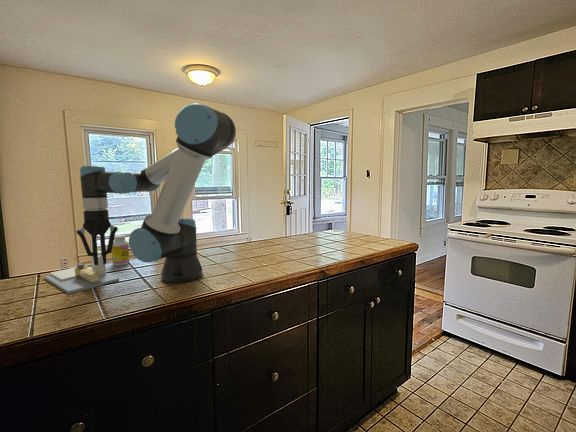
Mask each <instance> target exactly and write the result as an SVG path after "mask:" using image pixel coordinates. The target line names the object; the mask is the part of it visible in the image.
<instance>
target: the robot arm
mask: <svg viewBox="0 0 576 432" xmlns="http://www.w3.org/2000/svg"><path fill="white" fill-rule="evenodd" d="M174 128H175V133H176V135H177V138H176V139H175V143H176V145H177V148H175V149H174V150H173V151H170V152H169V153H168V154H166V155H165V156H163V157H161V158H160V159H158V160H156V161H155V162H153V163H152V164H150V165H149V166H147V167H145V168H144V169H142V170H140V171H125V170H117V171H114V170H113V171H106V168H105V166H102V165H83V166H81V167H80V169H79V171H80V172H79V173H80V176H79V179H80V186H81V188H80V189H81V197H82V208H83V209H84V210H83V221H84V222H83V224H82V227H81V228H78V229H76V231H75V233H76V234H77V235H78V236H79V237H80V240H81V242H82V244H83V245H82V246H83V247H84V250H85V252H86V255H88V257H91V256H93V259H94V264H95V265H98V273H99V274H104V267H103V264H105V265H106V264H107V255H109V254H112V247H113V242H114V237H115V236H116V233H117V232H118V230H119V228H118V227H117V226H114V225H112V223H111V222H110V219H109V218H110V217H109V210H108V207H109V203H108V194H121V195H122V194H130V193H141V192H142V193H143V192H144V193H148V192H154V191H156V190H158V189H159V187H160V186H161V184H162V183H163V186H162V188H161V190H160V193H159V196H158V198H157V201H156V203H155V206H154V208H153V211H152V213H151V214H148V215H145V217H144V219H143V222H142V224H141V227H138V228H135V229H134V230H133V231H131V232H130V235H129V237H128V246H129V249H130V250H131V253H132V255H133V256H134V257H135V259H137V260H138V261H140V262H142V263H147V264H148V263H153V262H158V261H159V260H162V259H164V258H165V259H164V262H163V266H162V270H161V273H160V277H161V281H163V282H165V283H172V284H181V283H187V282H192V281H196V280H198V279H200V278H202V276H203V275H204V274H203V268H202V265H201V262H200V260H199V257H198V248H197V247H198V246H197V245H198V244H197V243H198V241H197V226H196V221H195V219H193V218H186V217H185V218H184V217H183V218H181V217H182V215H183V213H184V211H185V208H186V206H187V203H188V201H189V199H190V196H191V195H192V192H193V189H194V188H195V185H196V183H197V181H198V178H199V176H200V173H201V171H202V168H203V167H204V164H205V162H206V160H210V159H212V158H213V156H215V155H218V154H219V153H220V152H223V151H224V150H226V149H227V148H228V147H230V146H231V145H232V144H233V142H234V140H235V139H236V135H237V129H236V124H235V122H234V120H233V119H232V118H231V117H230V116H229V115H228V114H226V113H225V112H222V111H219V110H217V109H215V108H212V107H210V106H208V105H206V104H202V103H190V104H188V105H185V106H183V107H182V108H181V109H180V110H179V112H177V115H176V117H175V119H174ZM108 230H109V231H110V232H109V238H108V242H107V248H106V233H107V231H108ZM86 232H87V233H88V234H89V235H90V236H91V244H92V245H91V246H92V247H91V248H92V251H93V252H92V251H91V249H90V246H89V244H88V241H87V238H86V236H85V233H86ZM97 236H99V240H100V251H101V254H102V255H98V241H97Z"/></svg>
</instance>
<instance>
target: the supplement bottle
mask: <svg viewBox="0 0 576 432" xmlns="http://www.w3.org/2000/svg"><path fill="white" fill-rule="evenodd" d="M129 249H130V247H129V241H127V240H126V235H125V234H119V235H118V234H117V235H116V234H115V237H114V242H113V247H112V252H111V257H112V258H111V259H112V265H113V266H117V267H120V266H125V265H128V264H130V251H129Z"/></svg>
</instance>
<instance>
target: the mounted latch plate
mask: <svg viewBox="0 0 576 432" xmlns="http://www.w3.org/2000/svg"><path fill="white" fill-rule="evenodd" d="M97 251H98V255H102V254H101V250H98V249H97ZM91 252H93V250H92V251H91ZM90 261H91V262H90V263H91V264H90V265H91V266H87V265H85V263H77V264H76V267H70V268H67V269H62V270H61V269H60V270H56V271H52V272H50V273H49V274H48V275H44V277H43V278H44V280H46V281H48V282H49V283H51V284H52V285H54V287H57V288H59V289H60V290H61V291H63V292H64V293H66V294H68V295H70V294H74V293H77V292H82V291H85V290H90V289H93V288H98V287H101V286H105V285H108V284H113V283H117V282H119V281H120V278H119V277H117V276H115V275H112V274H109V273H107V269H106V264H103V267H104V274H99V273H98V265H95V264H94V259H93V256H90ZM85 266H86V267H88V269H90V270H92V271H95V272H97V273H98V278H99V280H97V281H93V282H90V281H88V280H86V279H84V278H82V277H80V276H75V268H82V267H85Z"/></svg>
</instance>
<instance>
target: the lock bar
mask: <svg viewBox="0 0 576 432" xmlns="http://www.w3.org/2000/svg"><path fill="white" fill-rule="evenodd" d="M86 266H87V265H85V267H82V268H75V267H74V268H75V276H80V277H82V278H84V279H86V280H88V281H90V282H93V281H97V280H99V278H98V273H97V272H95V271H92V270H90V269H88V267H89V266H87V267H86Z"/></svg>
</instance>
